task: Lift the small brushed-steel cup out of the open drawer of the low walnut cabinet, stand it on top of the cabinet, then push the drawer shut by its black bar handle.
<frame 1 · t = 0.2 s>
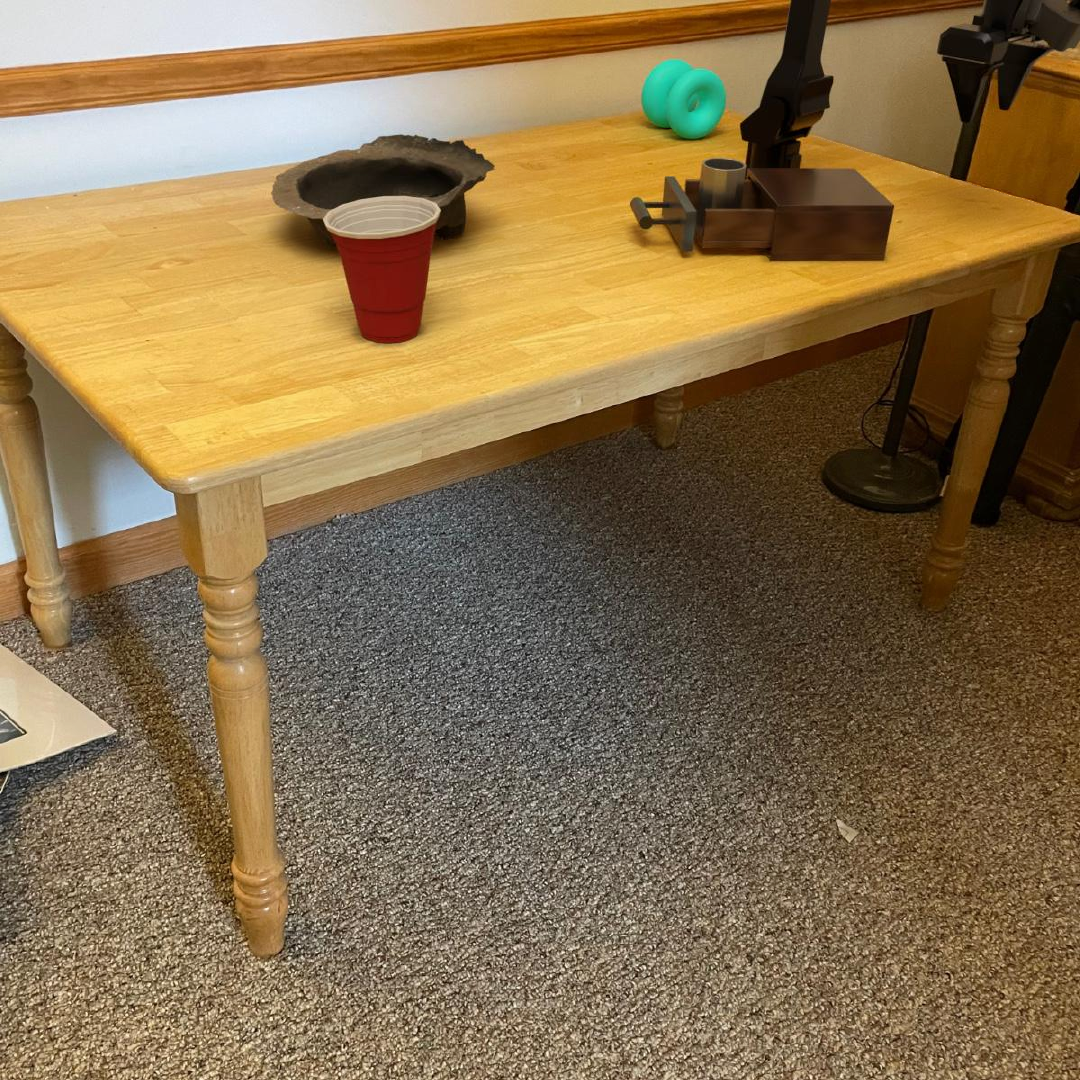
hand: (985, 116, 135), 15 cm above the table, tool pointing down, fingers open, 9 cm apart
cup: (717, 223, 139), point 2 cm above the table, touching drawer
teal yo-yo: (680, 134, 181), on the table
stone bowl: (381, 237, 138), on the table
cabinet: (809, 239, 141), on the table
drawer: (706, 213, 138), point 3 cm above the table, slide at 9.0 cm, touching cup
plastic cup: (387, 333, 115), on the table
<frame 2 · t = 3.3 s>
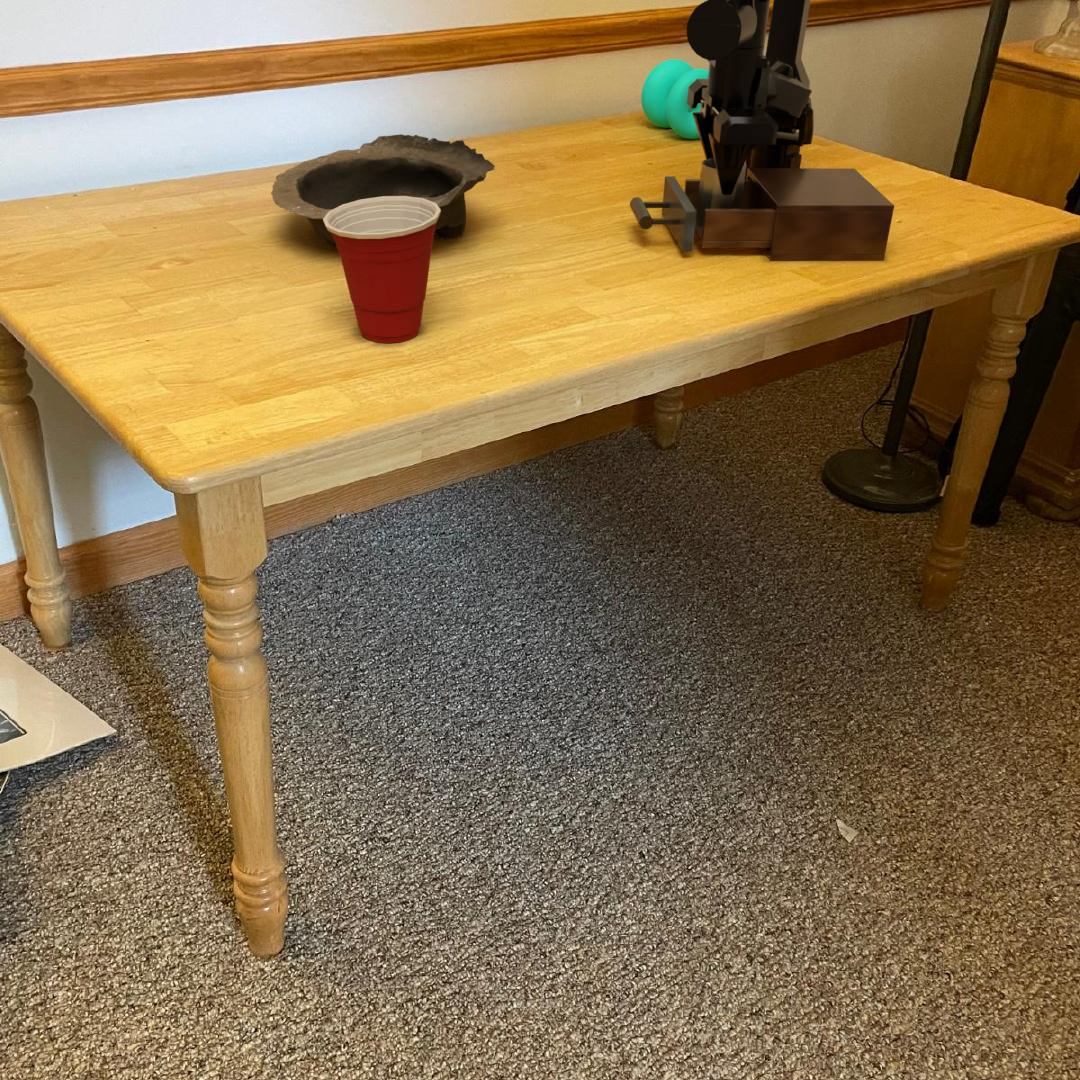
hand: (721, 187, 137), 6 cm above the table, tool pointing down, fingers closed on cup, 5 cm apart
cup: (717, 223, 139), point 2 cm above the table, touching drawer, gripper
everything else where it was.
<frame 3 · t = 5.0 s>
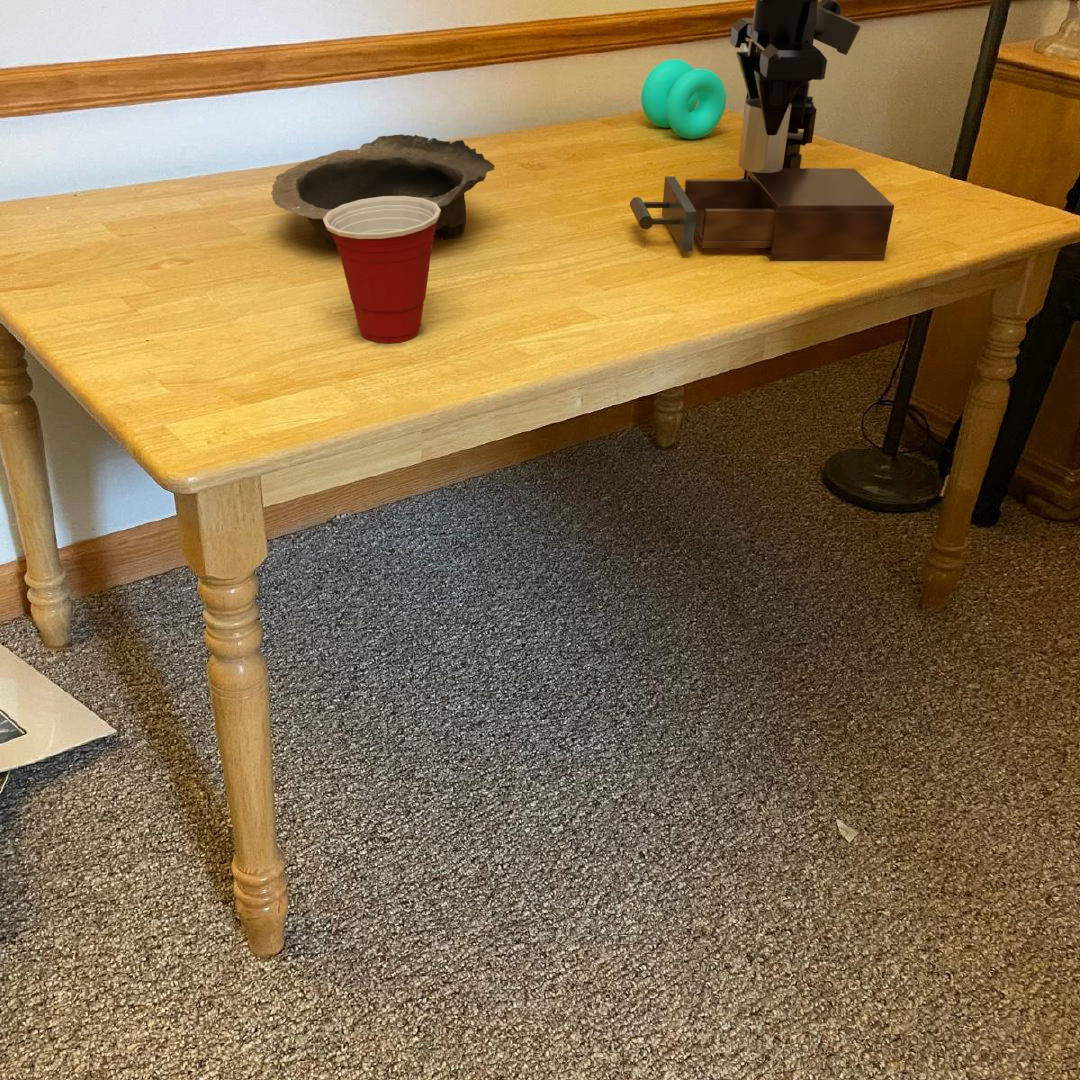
hand: (765, 128, 133), 13 cm above the table, tool pointing down, fingers closed on cup, 5 cm apart
cup: (760, 166, 136), point 9 cm above the table, touching gripper
drawer: (706, 213, 138), point 3 cm above the table, slide at 9.0 cm
everything else where it was.
when the fingers open (11 cm above the table, at t = 6.8 s): cup stays where it is, resting on cabinet.
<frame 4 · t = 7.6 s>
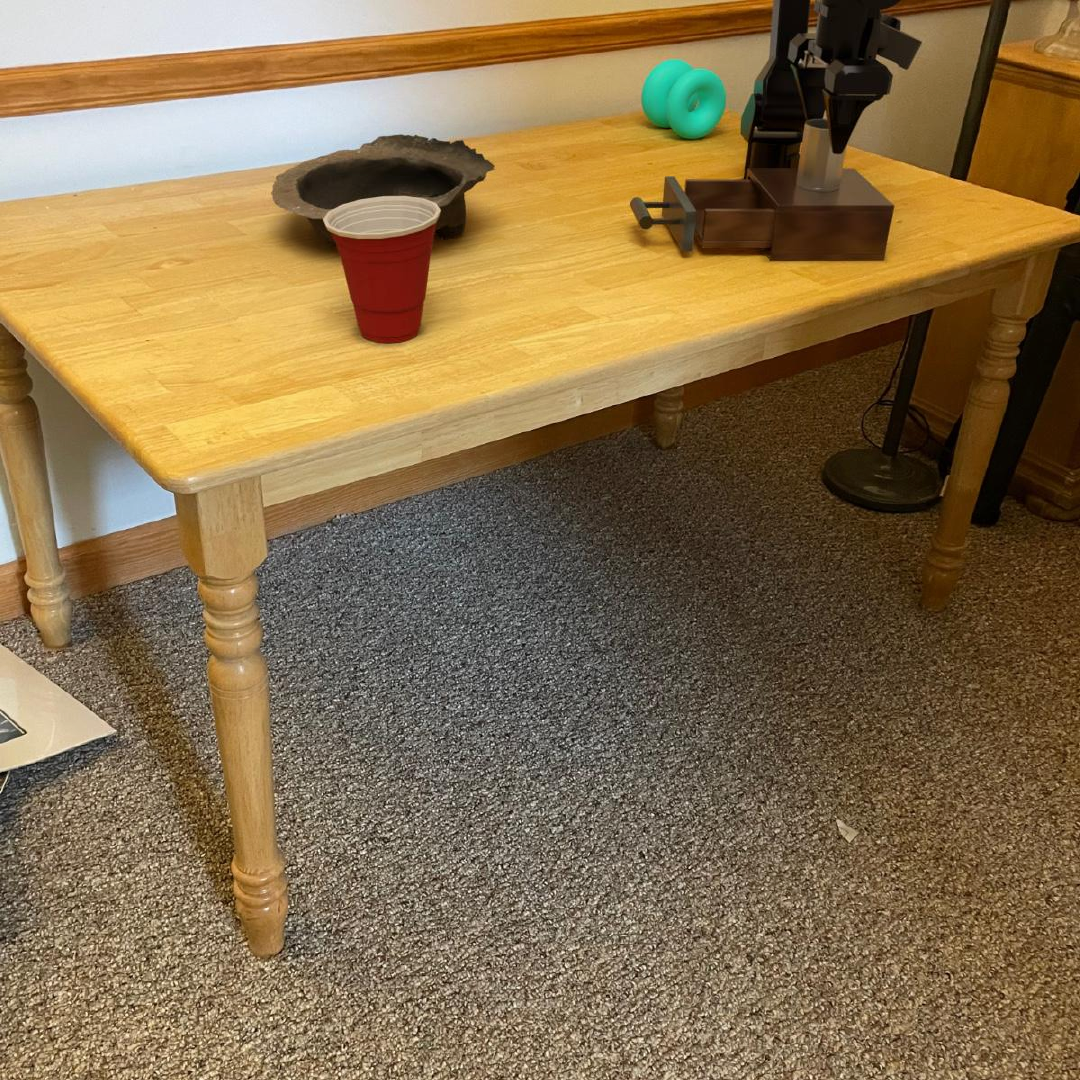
hand: (825, 142, 135), 11 cm above the table, tool pointing down, fingers open, 9 cm apart
cup: (817, 185, 138), point 6 cm above the table, touching cabinet
everything else where it was.
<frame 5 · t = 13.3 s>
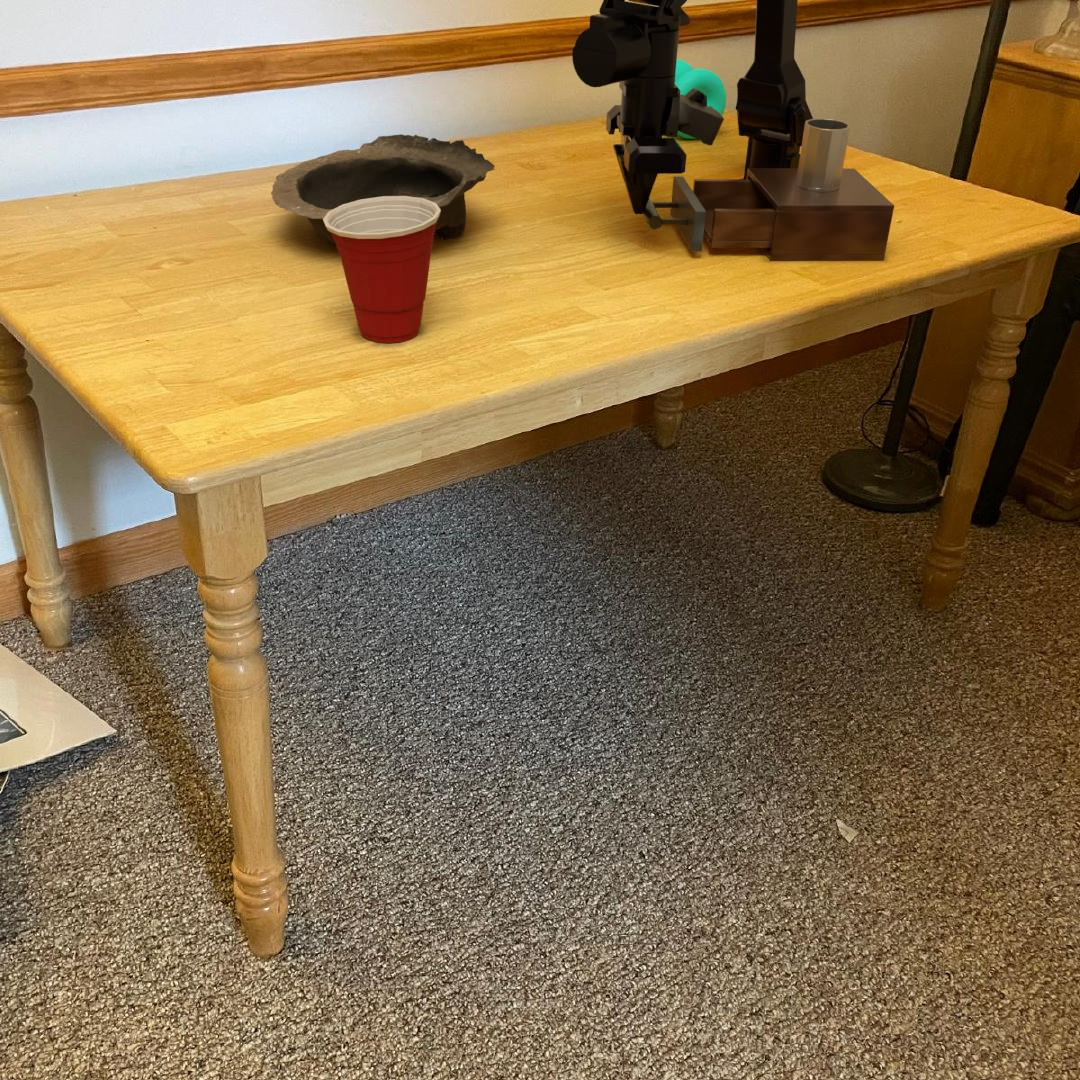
hand: (638, 213, 138), 3 cm above the table, tool pointing down, fingers closed, pressing on drawer
drawer: (714, 213, 138), point 3 cm above the table, slide at 7.9 cm, touching gripper
everything else where it was.
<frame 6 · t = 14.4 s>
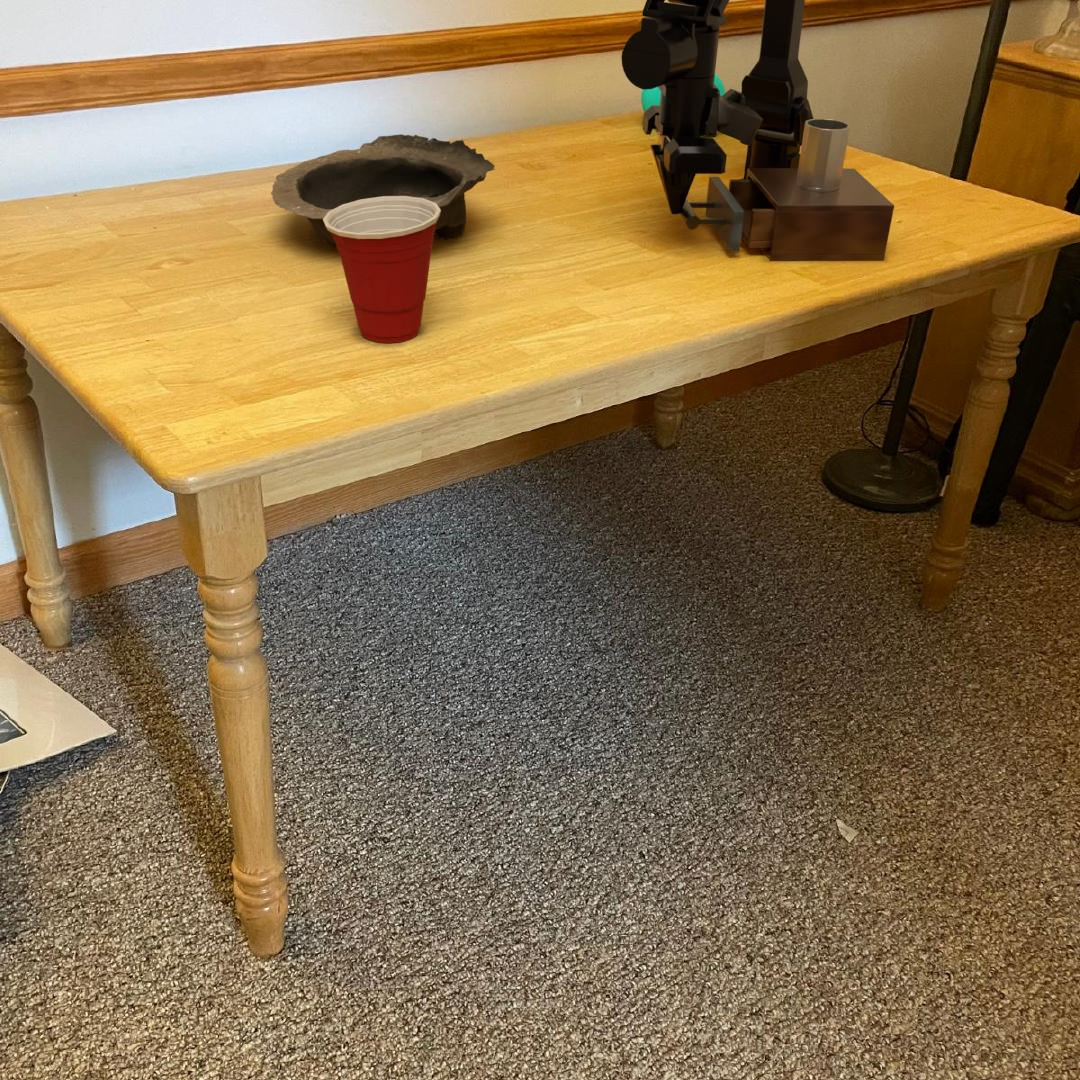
hand: (675, 213, 138), 3 cm above the table, tool pointing down, fingers closed, pressing on drawer
drawer: (751, 213, 139), point 3 cm above the table, slide at 3.6 cm, touching gripper
everything else where it was.
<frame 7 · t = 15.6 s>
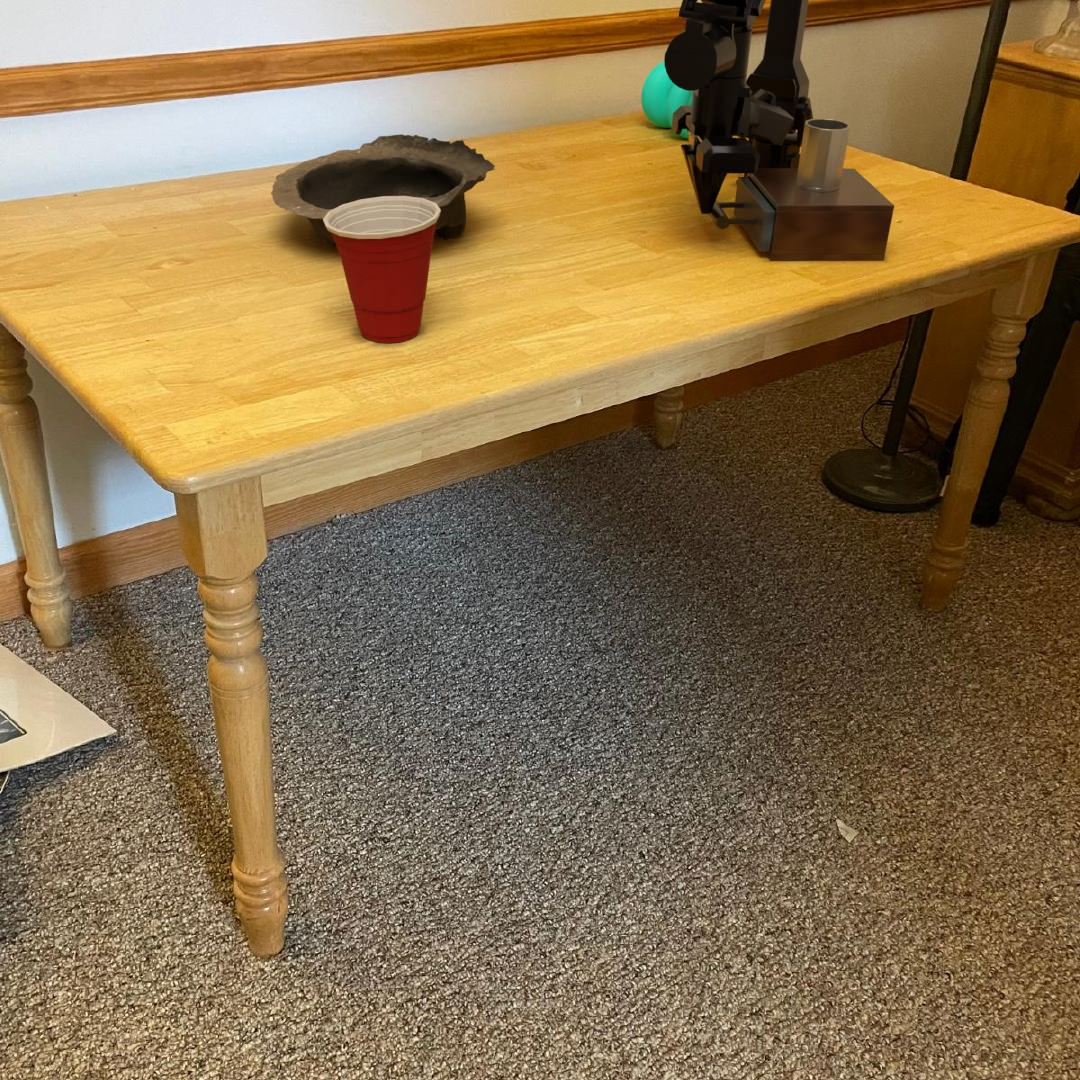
hand: (705, 213, 138), 3 cm above the table, tool pointing down, fingers closed, pressing on drawer
drawer: (780, 213, 139), point 3 cm above the table, slide at 0.0 cm, touching gripper
everything else where it was.
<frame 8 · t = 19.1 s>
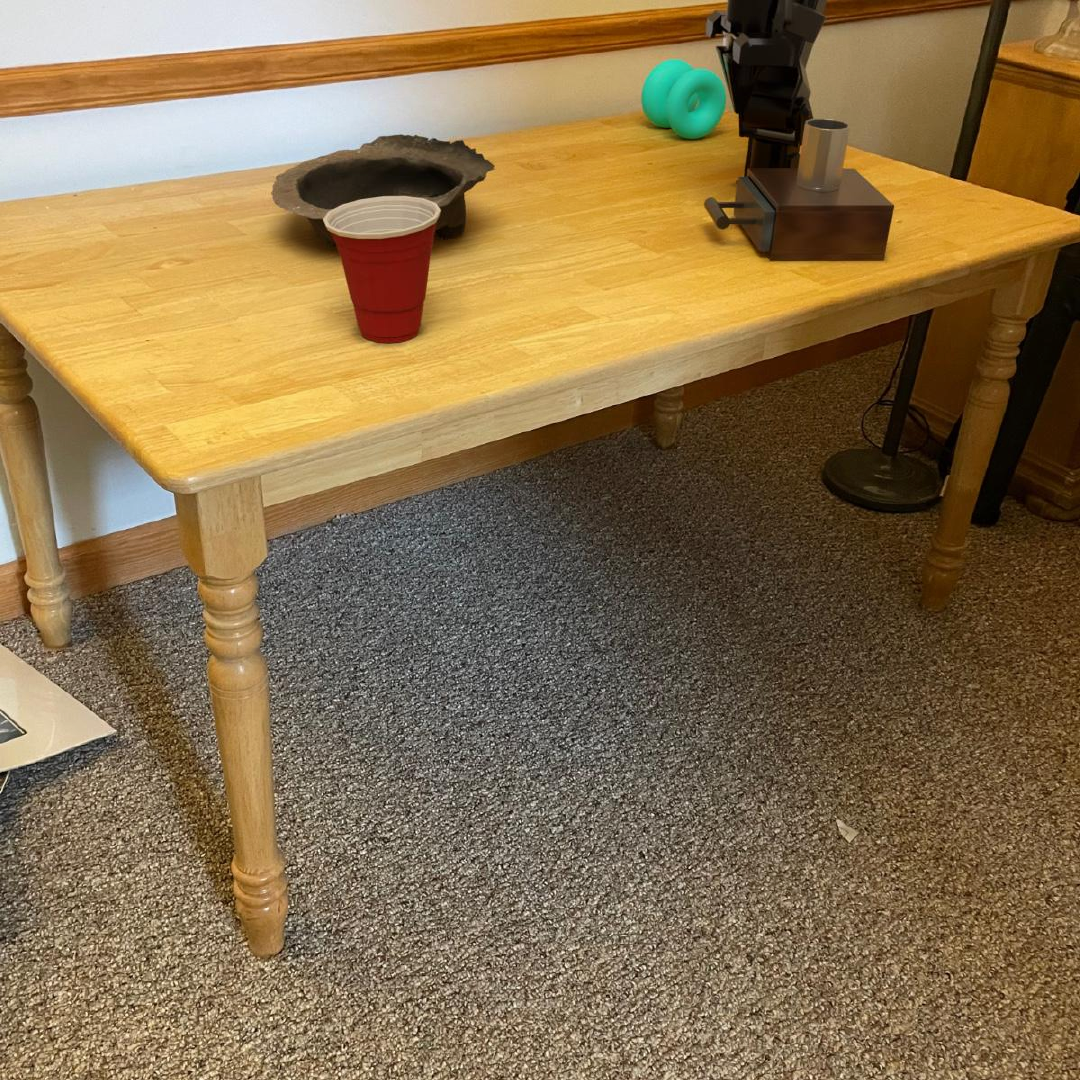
hand: (739, 113, 143), 12 cm above the table, tool pointing down, fingers closed
drawer: (780, 213, 139), point 3 cm above the table, slide at 0.0 cm
everything else where it was.
at the end: cup inside the target area on the cabinet (0.1 cm from its centre), point 6.4 cm above the cabinet's base; cup tilted 0°; drawer slide at 0.0 cm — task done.
